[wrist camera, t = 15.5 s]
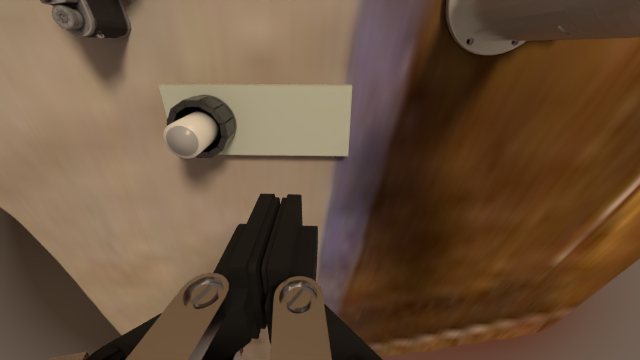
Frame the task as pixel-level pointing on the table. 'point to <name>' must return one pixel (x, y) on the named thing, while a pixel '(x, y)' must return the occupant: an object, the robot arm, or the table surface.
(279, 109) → the board
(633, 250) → the table surface
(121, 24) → the camera
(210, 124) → the cylinder
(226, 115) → the black faceted cup
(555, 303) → the table surface
